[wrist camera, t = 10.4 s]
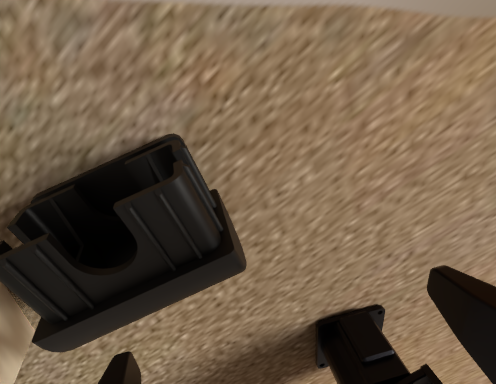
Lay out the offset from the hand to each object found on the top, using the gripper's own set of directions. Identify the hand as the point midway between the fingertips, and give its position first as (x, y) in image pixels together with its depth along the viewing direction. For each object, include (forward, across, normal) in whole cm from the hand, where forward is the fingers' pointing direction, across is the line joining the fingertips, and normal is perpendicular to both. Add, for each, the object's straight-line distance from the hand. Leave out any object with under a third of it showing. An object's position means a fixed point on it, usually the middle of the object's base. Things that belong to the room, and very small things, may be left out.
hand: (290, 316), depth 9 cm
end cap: (+12, +6, +2) cm, 14 cm away
